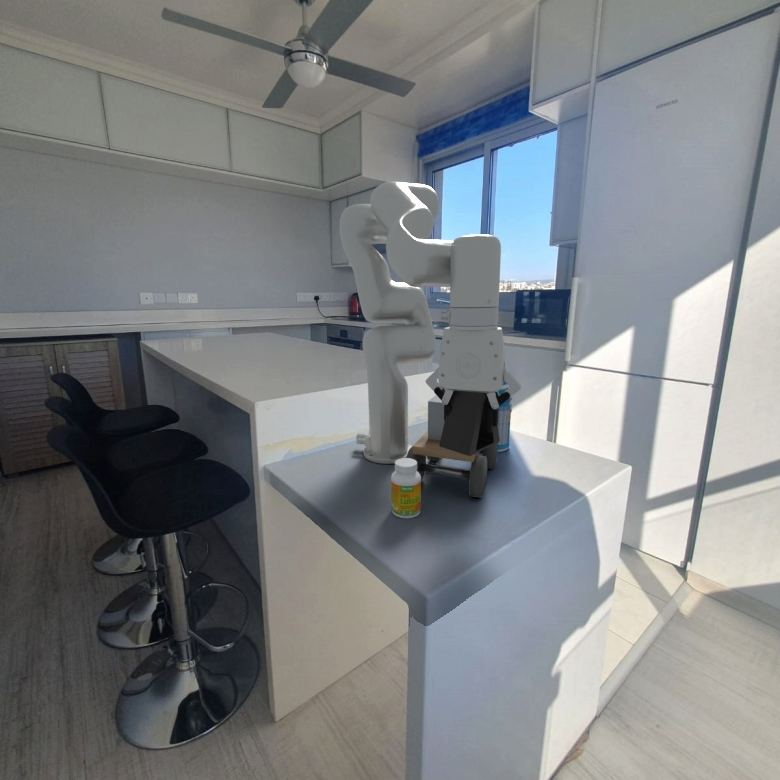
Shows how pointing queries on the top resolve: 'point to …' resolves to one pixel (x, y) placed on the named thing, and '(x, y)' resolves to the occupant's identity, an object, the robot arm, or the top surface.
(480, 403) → the phone stand
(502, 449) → the beverage bottle
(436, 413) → the trolley
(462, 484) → the top surface
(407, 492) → the supplement bottle
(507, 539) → the top surface
